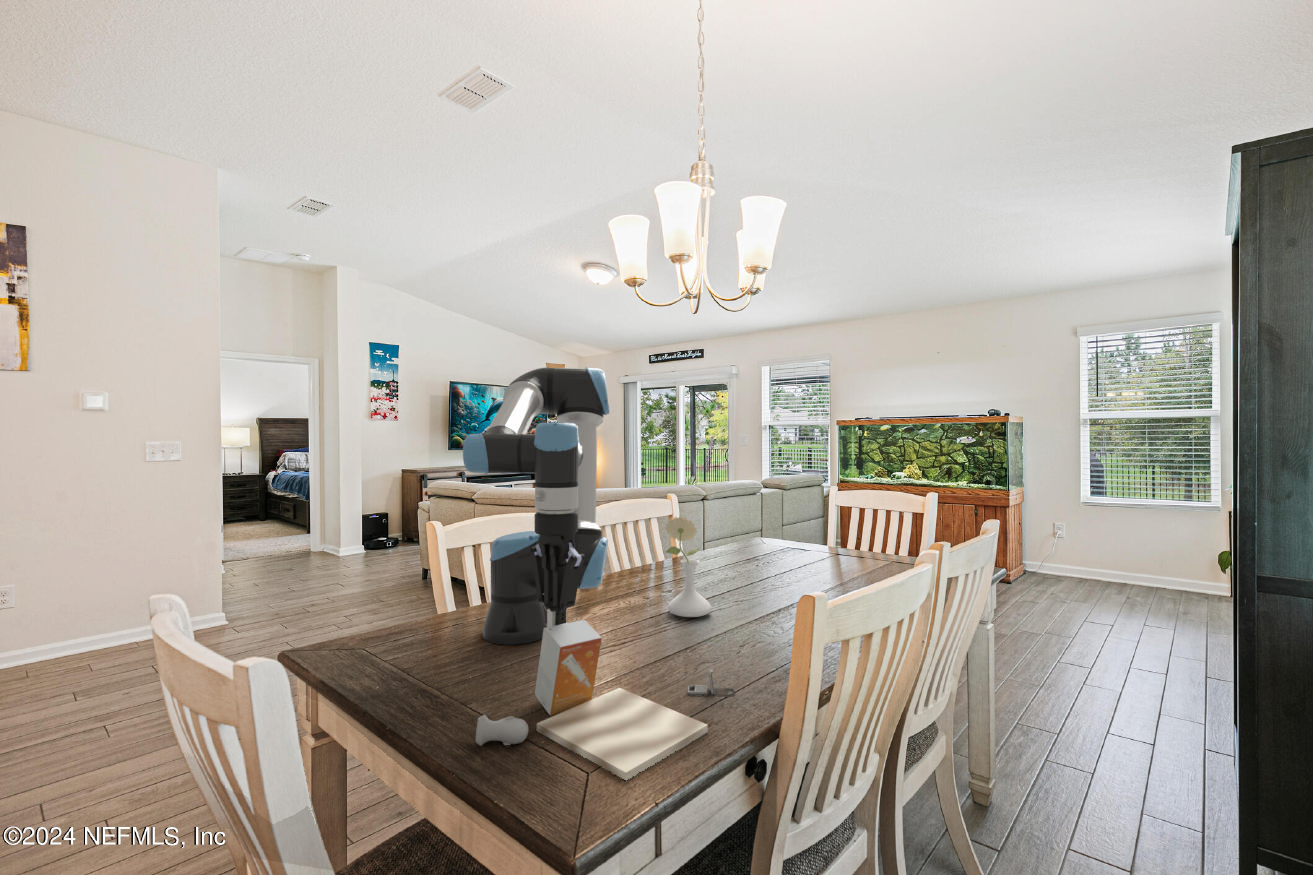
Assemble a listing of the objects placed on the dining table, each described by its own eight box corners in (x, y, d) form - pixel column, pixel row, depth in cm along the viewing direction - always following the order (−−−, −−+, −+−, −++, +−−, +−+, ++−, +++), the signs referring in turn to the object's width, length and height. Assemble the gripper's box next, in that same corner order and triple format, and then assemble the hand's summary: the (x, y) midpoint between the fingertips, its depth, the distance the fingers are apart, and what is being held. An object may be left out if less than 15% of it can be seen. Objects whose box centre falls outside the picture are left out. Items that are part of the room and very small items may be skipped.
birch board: (536, 730, 94) (536, 723, 94) (619, 694, 108) (619, 687, 108) (626, 781, 81) (626, 772, 81) (707, 732, 94) (707, 724, 94)
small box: (549, 717, 99) (559, 647, 96) (533, 694, 104) (542, 626, 101) (592, 704, 104) (602, 636, 101) (575, 682, 109) (584, 618, 106)
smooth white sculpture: (531, 743, 93) (522, 750, 88) (480, 741, 93) (469, 747, 89) (533, 713, 94) (525, 718, 89) (483, 710, 95) (472, 715, 90)
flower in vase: (719, 612, 157) (719, 516, 156) (698, 624, 147) (698, 522, 147) (676, 604, 164) (676, 512, 163) (653, 615, 154) (654, 517, 154)
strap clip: (687, 697, 107) (687, 673, 107) (687, 689, 110) (687, 666, 110) (735, 698, 107) (735, 674, 107) (733, 691, 110) (733, 667, 110)
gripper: (516, 509, 107) (516, 641, 107) (562, 516, 98) (562, 660, 98) (551, 505, 112) (550, 631, 112) (597, 512, 103) (596, 649, 103)
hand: (555, 645), depth 105 cm, fingers closed
